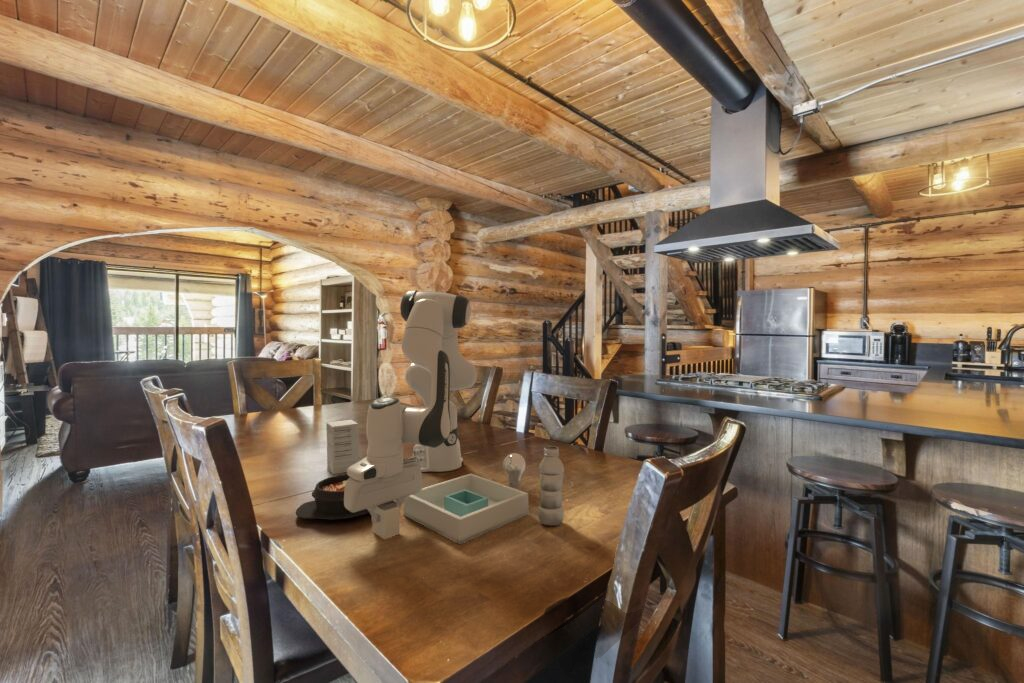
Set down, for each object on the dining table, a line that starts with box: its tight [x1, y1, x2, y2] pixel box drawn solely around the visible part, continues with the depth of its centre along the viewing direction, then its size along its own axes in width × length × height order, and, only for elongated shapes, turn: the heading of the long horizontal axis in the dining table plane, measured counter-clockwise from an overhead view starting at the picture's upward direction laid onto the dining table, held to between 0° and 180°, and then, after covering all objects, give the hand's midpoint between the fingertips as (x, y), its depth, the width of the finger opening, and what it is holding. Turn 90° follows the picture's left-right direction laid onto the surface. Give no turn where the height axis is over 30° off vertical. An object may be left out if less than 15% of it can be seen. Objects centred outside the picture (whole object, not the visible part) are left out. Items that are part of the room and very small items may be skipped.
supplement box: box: [326, 419, 360, 475], centre depth 166 cm, size 10×9×17 cm
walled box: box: [403, 473, 529, 545], centre depth 126 cm, size 24×24×6 cm
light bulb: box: [502, 452, 526, 490], centre depth 143 cm, size 7×7×12 cm
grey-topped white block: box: [372, 500, 401, 540], centre depth 115 cm, size 6×4×8 cm, turn 46°
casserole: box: [295, 473, 370, 521], centre depth 128 cm, size 25×19×8 cm
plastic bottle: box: [537, 445, 565, 527], centre depth 120 cm, size 6×7×20 cm
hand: (385, 518), depth 115 cm, fingers closed on grey-topped white block, 4 cm apart
